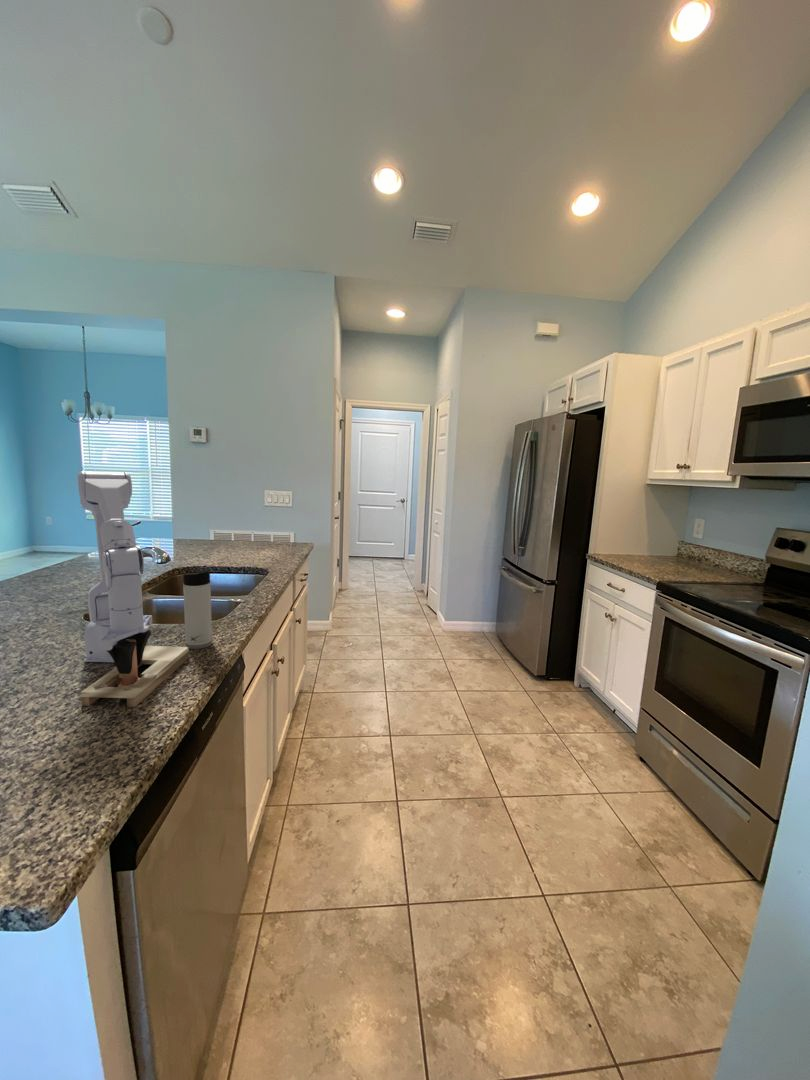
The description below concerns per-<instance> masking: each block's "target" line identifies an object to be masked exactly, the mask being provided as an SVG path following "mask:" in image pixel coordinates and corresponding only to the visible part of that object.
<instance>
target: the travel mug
mask: <svg viewBox="0 0 810 1080" xmlns="http://www.w3.org/2000/svg"><path fill="white" fill-rule="evenodd" d="M210 578H211V572H210V570H195V571H193V572H185V573H183V575H182V580H183V583H182V584H183V586H182V587H183V588H182V589H183V607H184V608H183V609H184V611H183V613H184V615H183V616H184V636H185V647H188V649H189V650H202V649H205V647H206V648H208V647H210V646H211V645H212V644H213V629H212V628H213V627H212V620H213V619H212V597H211V596H212V594H211V592H212V591H211V588H212V587H211V579H210Z"/></svg>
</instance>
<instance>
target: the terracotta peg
mask: <svg viewBox="0 0 810 1080" xmlns="http://www.w3.org/2000/svg"><path fill="white" fill-rule="evenodd" d="M127 640H129V642H136V640H135V639H127ZM138 671H139V670H138V669H137V653H136V646H135V649H134V652H133V658H132V670H131V673H129V674H122V681H121V682H119V683H118V684H117V687H125V686H128V685H132V684H134V683H135V682H137V681H138V680H139V679H140V678H141V677H139V674H138V673H139V672H138Z"/></svg>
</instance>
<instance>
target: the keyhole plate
mask: <svg viewBox="0 0 810 1080" xmlns="http://www.w3.org/2000/svg"><path fill="white" fill-rule="evenodd" d="M189 650H190V649H189V648H188V647H186V646H166V645H165V646H163V645H162V646H161V645H145V649H144V652H143V657H142V661H141V665H140V666H137V670H138V669H140V667H142V666H144V665H150V666H149V667H148V668H146V669H145V670H144V671H143V672H142V673H140V677H139V678H140V679H139V680H138V681H137V682H135V683H134V684H132V685H128V686H125V687H118V683H119V682H121V681H122V674H119V672H118V669H117V667H116V666H115V667H114V668H113V669H112V670H110V671H109V672H107V673H106V674H104V675H103V676H102V677H100V678H98V680H96V681H94V682H93V683H92V684H90V685H89V686H88V687H87V686H86V688H84V689H83V690H82V691H80V699H81V700H80V701H81V706H85V707H86V706H87V707H90V706H91V705H93V703H95V702H96V701H98V700H99V699H100V698H105V699H107V698H109V699H111V698H112V699H126V705H127V708H135V707H137V705H139V704H140V703H141V702H142V701H143V700H144V699H145V698H146V697H147V696H149V695H150V694H151V693H153V691H155V689H157V688H158V686H160V685H161V684H162V683H163V682H164V681H165V680H166V679H167V678H168V677H170V676H171V675H172V674H173V673H174V672H175V671H177V669H179V668H180V666H182V665H183V664H184V663H185V662H186V661H188V660H189V658H190V655H189V652H190V651H189Z"/></svg>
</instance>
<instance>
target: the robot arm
mask: <svg viewBox="0 0 810 1080" xmlns="http://www.w3.org/2000/svg"><path fill="white" fill-rule="evenodd" d="M131 477H132V476H131V475H130V474H129V473H128V472H127V471H125V472H107V471H105V472H104V471H103V472H102V471H101V472H100V471H98V472H97V471H84V470H81V471H79V472H78V473H77V483H78V484H77V485H78V495H79V499H80V500H79V501H80V502H79V503H80V505H81V507H82V509H84V510H86V511H89V512H91V514H92V516H93V518H94V521H95V529H96V530H95V531H96V540H97V543H96V544H97V551H98V553H97V554H98V561H99V570H100V581H98V583H96V584H95V585H94V586H92V587H91V588H90V589H89V591H88V592H87V595H88V596H87V597H88V599H87V604H88V605H87V606H88V615H89V621H90V622H88V623H87V625H86V626H85V630H84V635H83V636H84V637H83V638H84V648H85V658H84V659H83V662H88V663H89V662H90V663H114V664H115V665H114V666H115V668H116V667H117V669H118V672H119V674H129V673H131V670H132V658H133V652H134V649H135V646H136V653H137V666H140V665H141V661H142V657H143V652H144V649H145V647H146V646H147V643H148V640H149V638H150V637H151V635H152V631H151V630H150V626H152V625H153V615H151V614H150V615H149V614H147V615H145V614H144V609H143V590H142V576H141V575H144V570H145V559H144V554H143V550H142V547H141V546H140V544H139V542H136V537H135V533H134V529H133V525H132V523H130V521H127V520H126V519H125V514H124V510H126V509H127V508H128V507H129V504H130V503H131V497H133V496H132V495H133V482H132V478H131ZM104 593H107V594H104ZM127 639H135V640H136V642H129V640H127Z"/></svg>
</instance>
